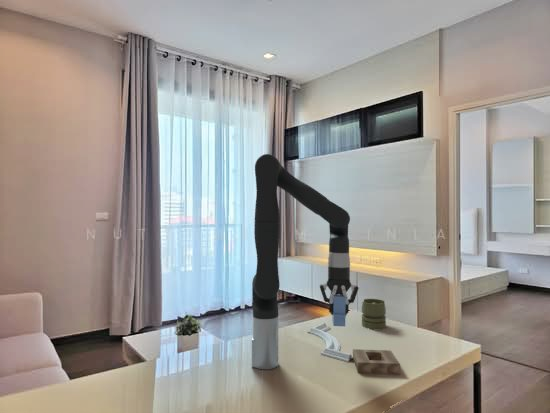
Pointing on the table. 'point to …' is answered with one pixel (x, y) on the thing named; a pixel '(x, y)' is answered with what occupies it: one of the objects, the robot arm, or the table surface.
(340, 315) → the blue block
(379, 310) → the piston
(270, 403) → the table surface
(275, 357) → the robot arm
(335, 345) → the molding
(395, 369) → the tan square ring
